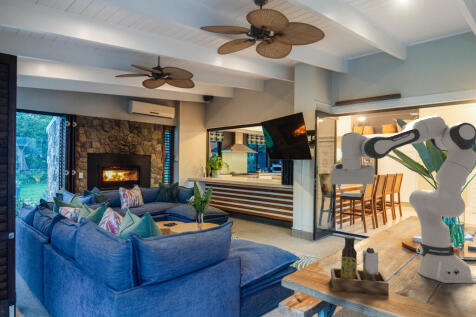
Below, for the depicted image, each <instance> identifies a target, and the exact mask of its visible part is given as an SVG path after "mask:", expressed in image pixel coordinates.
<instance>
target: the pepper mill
mask: <svg viewBox="0 0 476 317" xmlns="http://www.w3.org/2000/svg"><path fill="white" fill-rule="evenodd" d="M362 270H363V280H369V281H378V271H379V252H378V251H376V250H375V249H374V248H373V247H370V246H369V247H367V248H366V249H364V250H362Z"/></svg>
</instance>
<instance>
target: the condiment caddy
mask: <svg viewBox="0 0 476 317" xmlns="http://www.w3.org/2000/svg"><path fill="white" fill-rule="evenodd" d="M330 280H331V285H332V291H334V292H345V293H357V294H367V295H379V296H390V295H389V282H388V280H387V279H386V277H385V275H384V273H383V272H382V271H379V270H378V281H369V280H363V269H357V270H356V279H344V278H341V267H340V268H337V267H336V268H335V267H330Z"/></svg>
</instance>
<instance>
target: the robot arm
mask: <svg viewBox="0 0 476 317" xmlns="http://www.w3.org/2000/svg"><path fill="white" fill-rule="evenodd" d="M340 141H341V144H340V146H341V147H340V151H341V159H340V162H337V163H334V164H332V165H331V168H332V170H331V171H330V173H329V174H330V175H329V183H330V185H336V186H337V188H338V189H339V194H342V195H343V194H344V189H342V188H341V187H342V185H362V189H359V193H360V195H361V194H365V189H366V188H367V185H374V183H375V177H374V176H375V175H374V173H375V167H374V166H373V165H371V164H366V165H365V164H362V158H366V159H376V160H377V159H378V160H379V159H383V158H386V156H388V155H389V153H391V152H392V151H394V150H396V149H399V148H401V147H403V146H404V147H405V146H407V145H414V144H420V143H423V142H427V141H430V142H431V144H432V146H433V147H434V149H435V150H437V151H440V152H447V156H446V159H445V160H444V161H443V163H442V164H441V166H440V167H439V169H438V171H437V172H436V175H435V180H436V183H438V185H437V187H436V189H435V190H434V189H426V188H425V189H424V188H423V189H417V190H414V191H412V192H411V193H410V195H409V198H408V199H409V200H408V201H409V204H410V206H411V207H412V208H413V209H414V211H415V213H416V215H417V218H418V221H419V224H420V234H421V235H420V236H421V238H420V240H421V242H420V243H419V244H420V245H419V253H420V260H419V265H418V269H417V273H418V274H419V275H421V276H423V277H425V278H428V279H431V280H435V281H438V282H440V283H444V284H476V276H475V274H473V273H472V271H471V267H470V265H469V263H467V262H466V261H464V260H462V258H460V257H459V256H458V255H456V254H459V253H460V249H458V248H457V247H454V246H452V245H451V237H450V236H451V234H450V233H451V230H450V227H449V226H448V225H447V224H446V223H445V222H444V220H443V218H442V217H444V218H457V217H458V218H459V217H460V216H462V215H463V213H464V212H465V209H466V203H465V201H464V199H463V197H462V189H463V186H464V184H465V183H466V180H467V179H468V177H469V175H470V174H471V172H472V171H473V168H474V167H475V166H474V165H475V164H476V151H474V149H473V148H474V146H475V145H476V127H475V126H474V125H473V124H472V123H470V122H457V123H455V124H453V125H452V124H451V125H447V124H446V121H445V119H444V118H442V117H441V116H438V115H430V116H424V117H421V118H418V119H414V120H412V121H410V122H408V123H406V124H404V125H403V126H402V127H401V130H400V132H397V133H394V134H391V135H389V136H372V137H369V136H366V135H363V134H361V133H360V132H358V131H351V132H347V133H344V134H343V135H341V140H340Z"/></svg>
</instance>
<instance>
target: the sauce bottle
mask: <svg viewBox="0 0 476 317" xmlns="http://www.w3.org/2000/svg"><path fill="white" fill-rule="evenodd" d="M355 241H356V237H355V236H353V235H352V236H351V235H345V236H344V247H343V249H342V251H341V258H340V259H341V260H340V262H341V264H340V269H341V278H344V279H356V270H358V268H357V266H358V263H357V261H358V260H357V257H358V256H357V255H358V253H357V250H356V248H355Z"/></svg>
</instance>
